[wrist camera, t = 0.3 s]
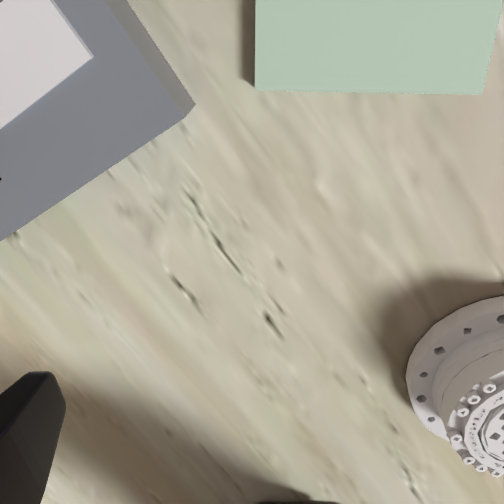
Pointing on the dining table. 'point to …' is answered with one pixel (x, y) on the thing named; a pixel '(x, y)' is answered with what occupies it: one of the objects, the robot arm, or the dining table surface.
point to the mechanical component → (463, 383)
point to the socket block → (75, 98)
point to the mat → (374, 45)
